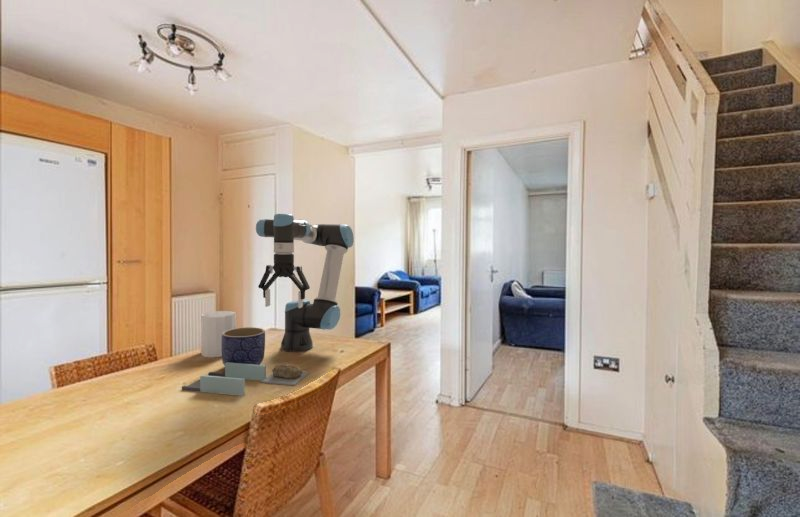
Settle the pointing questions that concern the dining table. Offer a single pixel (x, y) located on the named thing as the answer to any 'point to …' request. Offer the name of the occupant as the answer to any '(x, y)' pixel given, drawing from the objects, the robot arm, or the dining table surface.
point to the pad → (284, 379)
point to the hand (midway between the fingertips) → (284, 306)
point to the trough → (228, 379)
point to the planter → (243, 345)
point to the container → (215, 331)
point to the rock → (286, 371)
